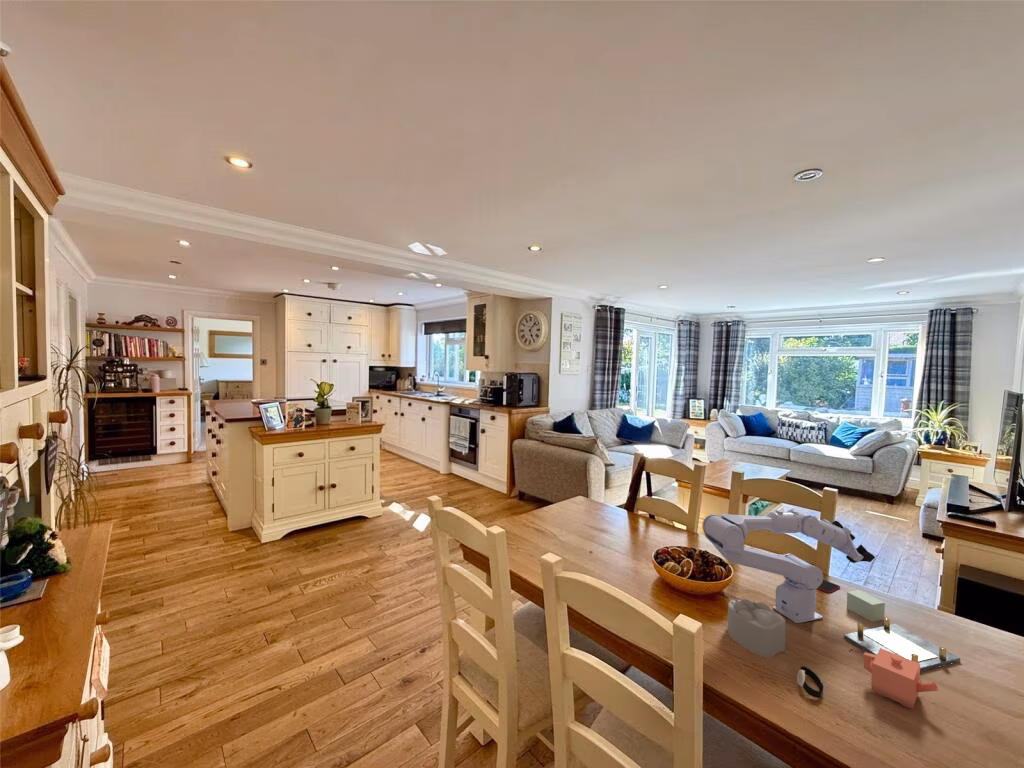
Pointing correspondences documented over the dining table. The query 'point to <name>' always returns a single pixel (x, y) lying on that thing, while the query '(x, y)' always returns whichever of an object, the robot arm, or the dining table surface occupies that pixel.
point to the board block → (865, 605)
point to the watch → (802, 683)
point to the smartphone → (828, 587)
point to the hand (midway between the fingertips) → (861, 548)
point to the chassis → (901, 645)
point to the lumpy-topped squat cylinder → (756, 627)
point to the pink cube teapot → (896, 677)
